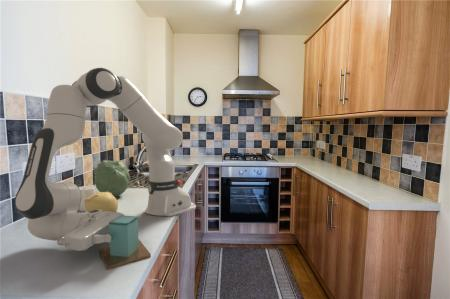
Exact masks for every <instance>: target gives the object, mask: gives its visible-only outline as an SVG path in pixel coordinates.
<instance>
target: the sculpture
mask: <svg viewBox="0 0 450 299" xmlns="http://www.w3.org/2000/svg"><path fill="white" fill-rule="evenodd" d="M84 203H85V209H86V210H87V211H86V212H89V211H93V210H97V209H100V210H102V212H104V211H110V212H118V209H119V208H118V207H119V205H118V204H119V202H118V200H117V198H116V197H114V196H113V195H112V193H109V192H99V191H96V193H95V194H94V195H92V196H90V197H88V198H86V199H85V200H84Z"/></svg>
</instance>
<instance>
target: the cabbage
mask: <svg viewBox="0 0 450 299" xmlns="http://www.w3.org/2000/svg"><path fill="white" fill-rule="evenodd" d="M92 174H94V175H93V179H94V186H96V190H98V192H109V193H112V195H113V196H114V197H115V198H116V197H119V196H121V195H122V194H123V193H124V192H126V190H127V189H128V187H129V184H130V181H131V176H130V173H129V169H128V167H127V165H126V164H125V163H124V162H123V161H122V160H121V161H120V160H116V161H115V160H110V159H109V160H106V159H105V160H104V159H103V160H101V161H100V162H99V163H98V164H97V165H96V168H93V172H92Z"/></svg>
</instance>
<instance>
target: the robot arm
mask: <svg viewBox="0 0 450 299" xmlns="http://www.w3.org/2000/svg"><path fill="white" fill-rule="evenodd" d="M106 101H110V102H111V103H112V104H114V105H115V106H116V108H117V109H118V110H119V111H120V112H121V113H122V114H123V115H124V116H125V118H126V119H128V121H129V122H130V123H131V124H132V125H133V126H134V127H135V128H137V129H139V131H141V132H142V133H141V138H142V141H143V143H144V147H145V151H146V156H147V161H148V178H149V180H148V183H147V184H148V185H147V190H148V201H147V206H146V210H145V213H147V214H149V215H152V216H163V217H164V216H165V217H173V216H177V215H180V214H183V213H186V212H190V211H193V210H196V208H197V206H196V204H195V203H194V202H192V200H191V196H190V194H189V192H187V191H186V190H184V189H183V188H181V187H180V186H182V184H183V181H182V180H178V179H176V178H175V161H174V159H173V158H172V154H171V152H170V151H173V150H176V149H178V148H179V147H180V146H181V145H182V142H183V141H184V140H183V138H184V137H183V133H182V131H181V130H180V129H179V128H178V127H176V126H175V125H173V124H172V123H171V122H170V121H169V120H167V119H166V117H164V116H163V115H162V114H161V113H160V112H158V111H157V109H156V108H155V107H154V106H153V105H152V104H151V103H150V101H148V99H147V98H146V96H145V95H144V94H143V93H142V92H141V90H140V89H138V87H136V85H134V83H132V81H131V80H129V79H128V78H126V76H122V75H116V74H115V73H114V72H112V71H111V70H109V69H108V68H105V67H96V68H93V69H90V70H89V71H87V72H85V73H83V74H81V75H80V77H79V78H78V79H77V80H75V81H74V82H73V83H72V84H71V85H70V84H58V85H56V86H54V87H53V88H52V90H51V91H50V95H49V98H48V102H47V107H46V115H45V122H44V124H43V126H42V128H41V129H40V130H38V131H37V132H36V133H35V134H34V138H33V139H32V141H31V142H32V143H31V145H30V149H29V154H28V158H27V161H26V166H25V169H24V173H23V177H22V180H21V183H20V186H19V188H18V190H17V192H16V194H15V197H14V206H15V209H16V210H17V212H18V213H19V214H20V215H21V216H23V217H24V218H25V219H28V221H27V229H28V230H27V231H28V232H29V233H30V234H31V235H32V236H33V237H36V238H38V239H41V240H46V241H55V242H56V244H57V245H58V246H64V248H66V249H69V250H72V251H77V252H78V251H79V252H81V251H86V250H88V249H89V248H90V247H92V246H94V245H96V244H97V245H98V244H102V243H110V242H111V241H112V240H113V234H109V222H110V221H112V220H114V219H115V218H117V217H119V216H120V215H123V216H125V214H124V213H123V212H119V211H116V212H110V211H104V212H102V210H100V209H97V210H93V211H89V212H87V211H80V210H79V207H80V203H81V191H80V189H79V187H80V186H78V185H77V184H76V183H73V182H70V181H69V182H49V176H50V173H51V167H52V163H53V159H54V155H55V153H56V152H57V151H58V150H59V149H61V148H63V147H68V146H70V145H73V144H75V143H77V142H78V141H80V140H81V138H82V137H83V136H84V133H85V130H86V111H87V108H92V107H95V106H97V105H101V104H103V103H105V102H106ZM79 211H80V212H79Z"/></svg>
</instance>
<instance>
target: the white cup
mask: <svg viewBox="0 0 450 299" xmlns="http://www.w3.org/2000/svg"><path fill="white" fill-rule="evenodd" d="M78 187H79V189H80V191H81V203H80V207H79V211H80V212H87V210H86V209H85V203H84V200H85V199H86V198H88V197H90V196H92V195H94V194H95V193H97V187H96V185H83V186H78Z"/></svg>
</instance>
